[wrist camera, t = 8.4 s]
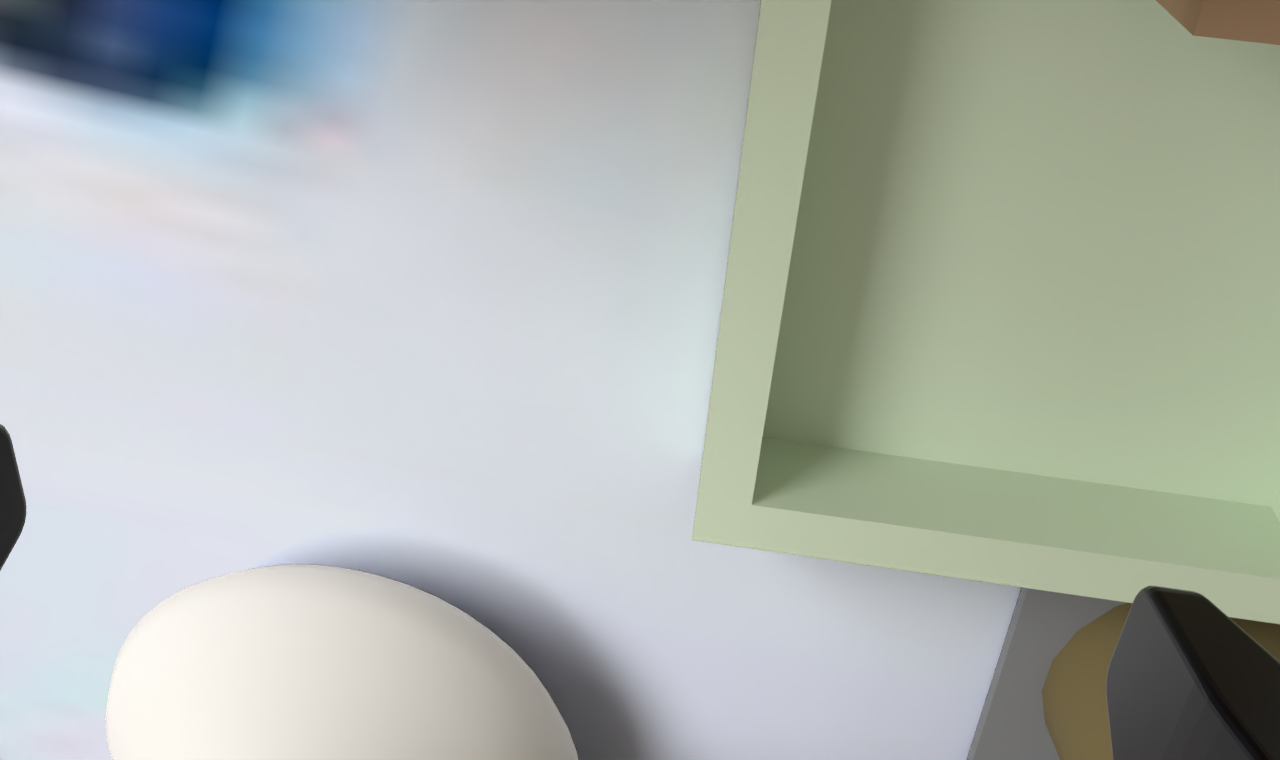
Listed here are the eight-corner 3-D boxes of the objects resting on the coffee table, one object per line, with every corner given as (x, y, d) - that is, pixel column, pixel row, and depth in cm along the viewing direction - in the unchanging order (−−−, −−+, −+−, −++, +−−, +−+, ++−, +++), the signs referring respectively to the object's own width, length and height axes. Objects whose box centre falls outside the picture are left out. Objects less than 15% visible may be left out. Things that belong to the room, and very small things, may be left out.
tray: (1300, 544, 24) (1350, 634, 21) (703, 462, 25) (692, 539, 22) (1748, -417, 15) (1903, -434, 13) (826, -492, 16) (828, -518, 14)
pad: (1307, 832, 28) (1313, 846, 27) (960, 778, 28) (962, 792, 28) (1455, 566, 23) (1465, 579, 23) (1046, 509, 24) (1049, 521, 24)
